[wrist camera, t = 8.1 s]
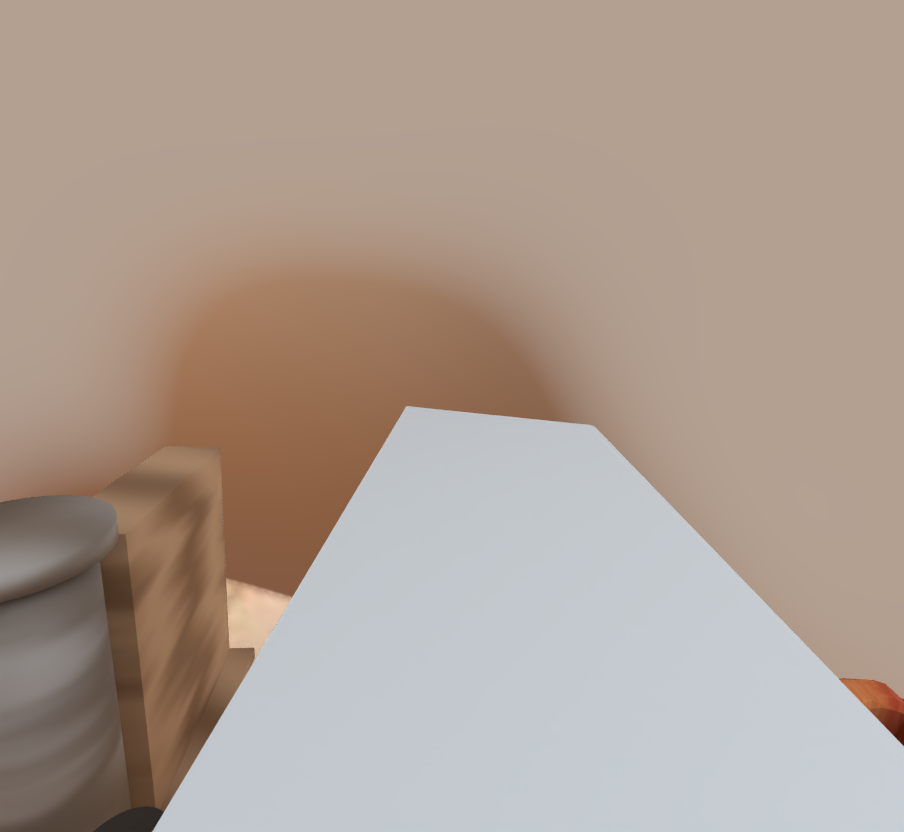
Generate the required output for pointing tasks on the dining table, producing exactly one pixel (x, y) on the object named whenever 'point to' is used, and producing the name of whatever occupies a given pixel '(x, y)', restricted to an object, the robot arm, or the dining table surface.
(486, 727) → the light grey block
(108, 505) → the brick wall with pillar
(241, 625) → the dining table surface
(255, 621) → the dining table surface
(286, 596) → the dining table surface
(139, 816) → the robot arm
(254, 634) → the dining table surface
